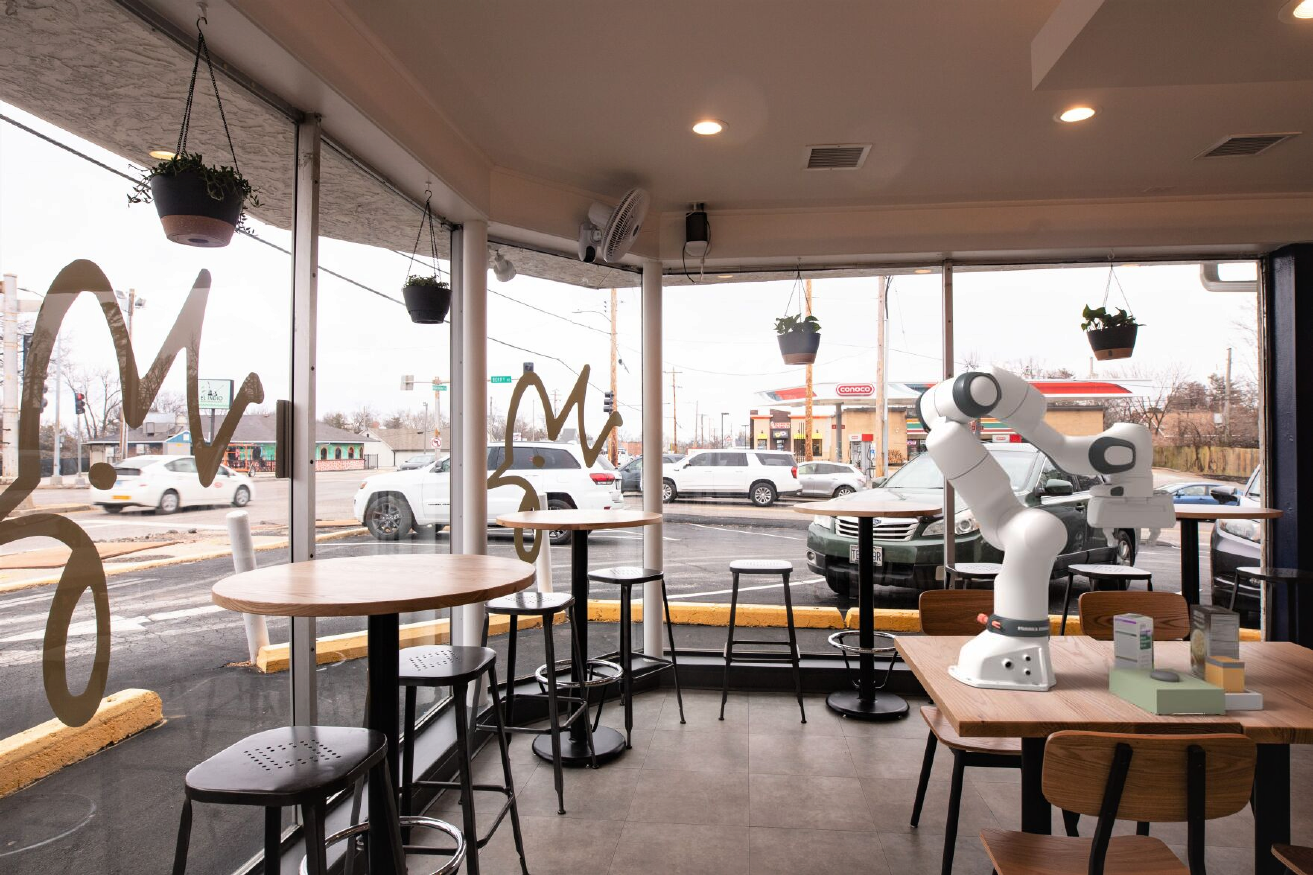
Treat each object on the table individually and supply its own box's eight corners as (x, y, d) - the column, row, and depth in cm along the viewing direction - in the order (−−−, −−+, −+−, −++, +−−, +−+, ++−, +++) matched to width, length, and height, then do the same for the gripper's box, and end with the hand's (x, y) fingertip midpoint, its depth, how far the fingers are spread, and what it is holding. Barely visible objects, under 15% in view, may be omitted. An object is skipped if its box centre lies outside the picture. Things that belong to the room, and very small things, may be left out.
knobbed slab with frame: (1156, 715, 145) (1156, 684, 145) (1109, 692, 159) (1109, 664, 159) (1274, 714, 147) (1274, 683, 147) (1217, 691, 161) (1217, 664, 161)
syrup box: (1140, 684, 165) (1139, 619, 165) (1113, 677, 170) (1113, 614, 171) (1154, 681, 168) (1154, 617, 168) (1128, 674, 173) (1127, 612, 173)
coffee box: (1188, 671, 176) (1188, 603, 177) (1219, 673, 175) (1218, 605, 175) (1209, 683, 167) (1208, 611, 168) (1241, 685, 166) (1241, 613, 166)
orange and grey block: (1223, 706, 151) (1222, 662, 151) (1205, 699, 156) (1205, 656, 156) (1244, 706, 151) (1244, 662, 151) (1226, 699, 156) (1225, 656, 156)
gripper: (1163, 489, 183) (1163, 545, 183) (1083, 488, 182) (1083, 544, 182) (1182, 490, 177) (1182, 548, 176) (1099, 489, 176) (1099, 548, 175)
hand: (1131, 546), depth 179 cm, fingers open, 8 cm apart
